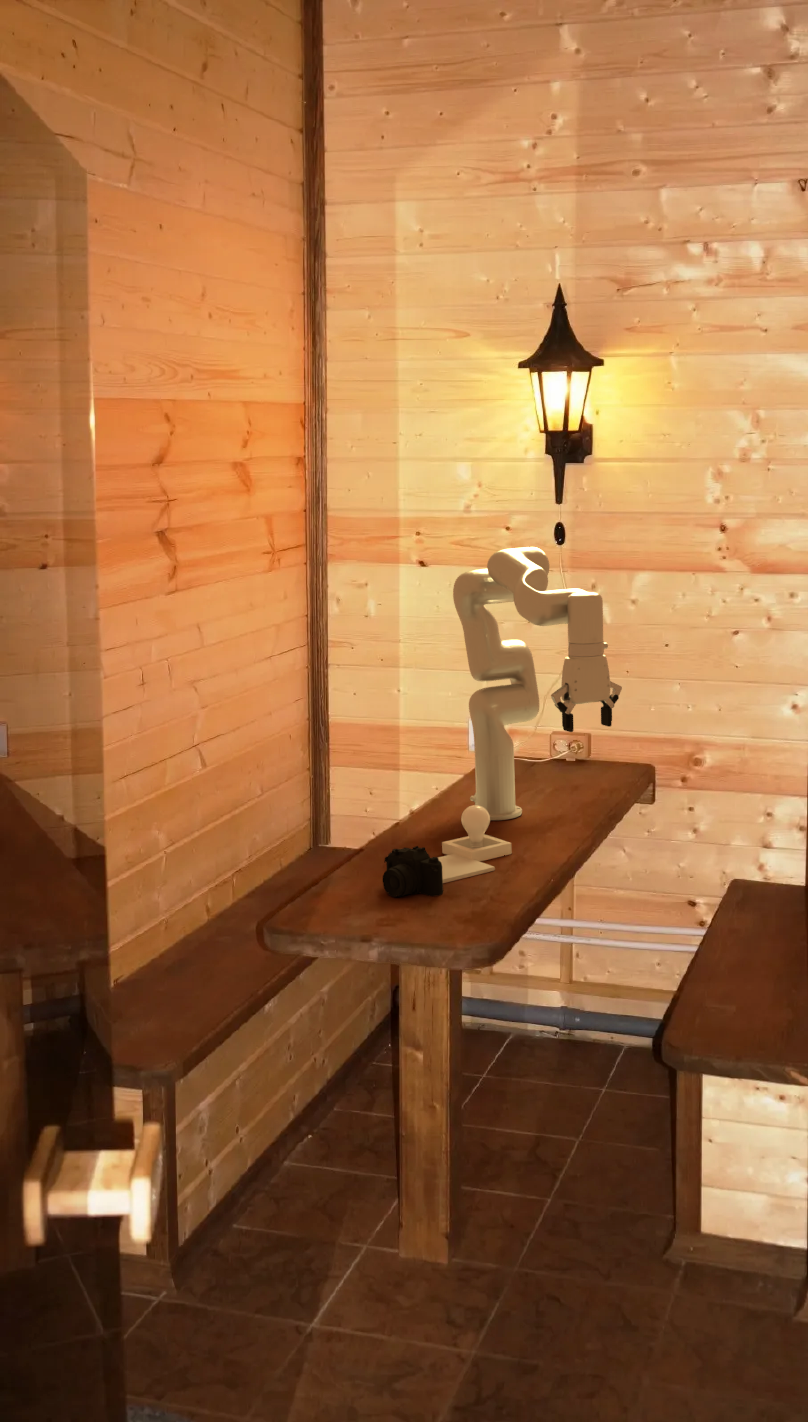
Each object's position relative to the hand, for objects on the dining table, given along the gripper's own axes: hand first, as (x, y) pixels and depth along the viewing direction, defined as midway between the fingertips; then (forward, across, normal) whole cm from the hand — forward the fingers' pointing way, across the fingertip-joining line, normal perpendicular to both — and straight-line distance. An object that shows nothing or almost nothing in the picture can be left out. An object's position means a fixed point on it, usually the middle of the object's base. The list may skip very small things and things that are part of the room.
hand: (587, 728), depth 318 cm
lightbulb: (+28, +21, -14) cm, 38 cm away
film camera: (+28, +46, +3) cm, 54 cm away
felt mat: (+28, +32, -6) cm, 43 cm away
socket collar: (+28, +21, -14) cm, 38 cm away
